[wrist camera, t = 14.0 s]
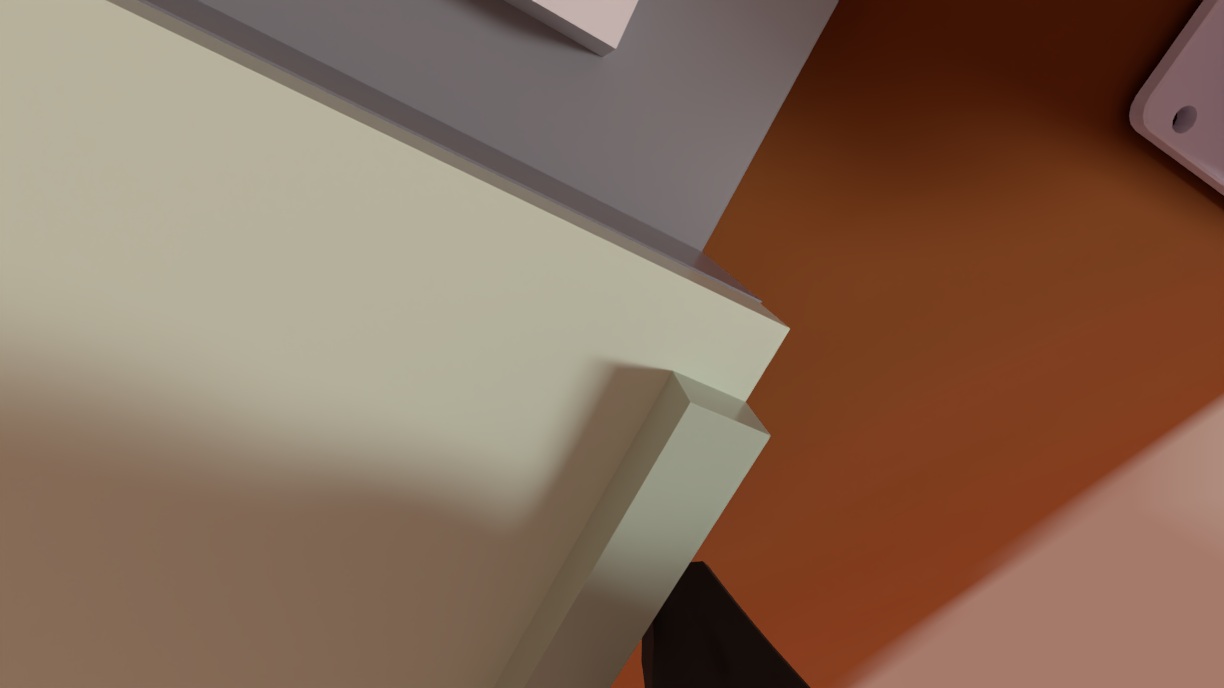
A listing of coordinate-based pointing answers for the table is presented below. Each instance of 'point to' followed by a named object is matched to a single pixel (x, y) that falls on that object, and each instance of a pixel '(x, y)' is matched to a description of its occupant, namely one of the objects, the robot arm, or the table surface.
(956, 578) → the table surface
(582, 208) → the housing
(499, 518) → the lid
